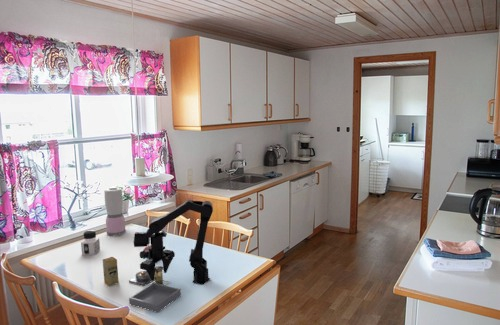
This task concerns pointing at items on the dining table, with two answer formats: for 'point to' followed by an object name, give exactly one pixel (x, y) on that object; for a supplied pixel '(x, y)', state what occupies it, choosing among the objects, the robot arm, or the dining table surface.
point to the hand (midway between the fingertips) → (158, 276)
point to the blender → (114, 211)
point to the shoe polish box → (110, 271)
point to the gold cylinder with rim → (159, 275)
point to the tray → (155, 297)
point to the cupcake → (147, 249)
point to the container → (90, 243)
